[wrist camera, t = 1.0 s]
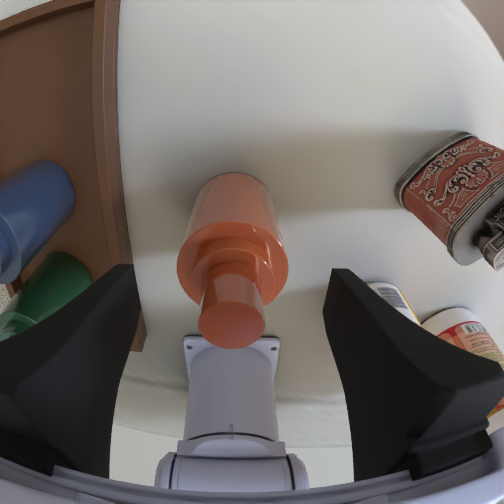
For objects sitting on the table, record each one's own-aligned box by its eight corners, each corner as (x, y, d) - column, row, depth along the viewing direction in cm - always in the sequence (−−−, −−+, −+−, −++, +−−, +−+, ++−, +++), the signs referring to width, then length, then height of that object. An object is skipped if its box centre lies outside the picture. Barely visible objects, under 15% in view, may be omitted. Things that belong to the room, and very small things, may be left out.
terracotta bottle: (270, 245, 22) (291, 369, 13) (195, 243, 21) (170, 367, 12) (276, 173, 19) (311, 270, 10) (193, 171, 19) (153, 266, 10)
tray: (146, 334, 26) (141, 352, 24) (37, 322, 25) (28, 337, 23) (121, -7, 13) (108, -15, 11) (-17, 37, 12) (-34, 37, 10)
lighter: (406, 218, 21) (485, 306, 12) (386, 182, 20) (474, 263, 11) (481, 159, 19) (577, 217, 10) (467, 121, 17) (573, 167, 9)
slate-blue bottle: (81, 227, 20) (1, 332, 11) (27, 227, 19) (-56, 318, 10) (70, 156, 17) (-40, 233, 8) (14, 163, 17) (-91, 234, 8)
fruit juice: (479, 291, 25) (607, 528, 1) (467, 350, 30) (554, 547, 6) (398, 325, 26) (499, 612, 2) (398, 380, 31) (465, 601, 7)
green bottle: (100, 306, 23) (54, 416, 14) (50, 302, 23) (-3, 398, 14) (86, 252, 21) (18, 362, 12) (33, 250, 20) (-40, 345, 11)
